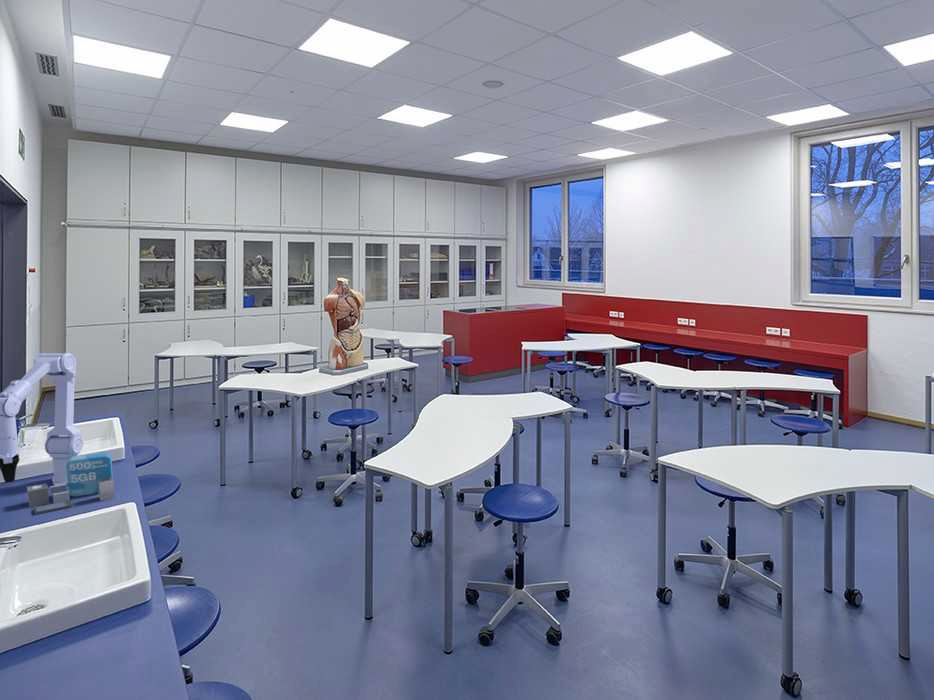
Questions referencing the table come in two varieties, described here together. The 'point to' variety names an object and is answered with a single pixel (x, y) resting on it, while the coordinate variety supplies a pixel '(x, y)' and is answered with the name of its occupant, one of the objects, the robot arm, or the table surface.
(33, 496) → the cube
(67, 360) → the robot arm
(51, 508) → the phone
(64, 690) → the table surface
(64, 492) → the socket rails
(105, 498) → the metal plug
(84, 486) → the data package
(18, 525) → the table surface
